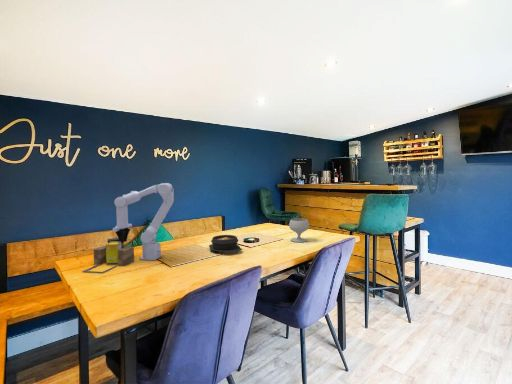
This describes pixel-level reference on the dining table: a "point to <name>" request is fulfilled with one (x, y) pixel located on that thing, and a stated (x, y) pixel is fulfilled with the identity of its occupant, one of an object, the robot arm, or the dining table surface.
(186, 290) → the dining table surface
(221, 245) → the black round squat piece
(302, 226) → the chalice
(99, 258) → the shelf blocks
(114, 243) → the supplement box
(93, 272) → the stand outline
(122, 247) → the box
